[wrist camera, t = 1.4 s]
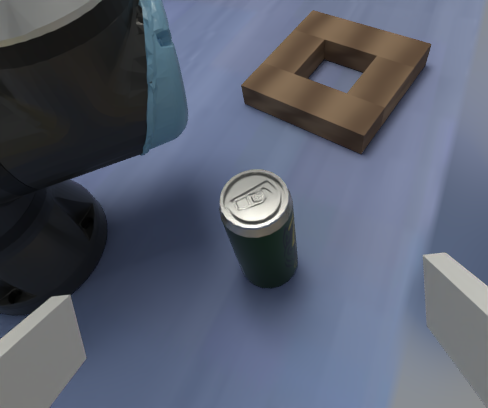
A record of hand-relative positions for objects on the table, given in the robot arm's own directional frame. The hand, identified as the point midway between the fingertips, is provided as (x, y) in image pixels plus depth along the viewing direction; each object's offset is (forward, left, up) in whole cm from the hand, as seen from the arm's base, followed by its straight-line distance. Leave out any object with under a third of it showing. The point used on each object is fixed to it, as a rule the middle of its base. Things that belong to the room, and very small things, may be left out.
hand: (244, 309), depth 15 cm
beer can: (-7, +8, -21) cm, 24 cm away
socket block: (-14, +32, -21) cm, 41 cm away
